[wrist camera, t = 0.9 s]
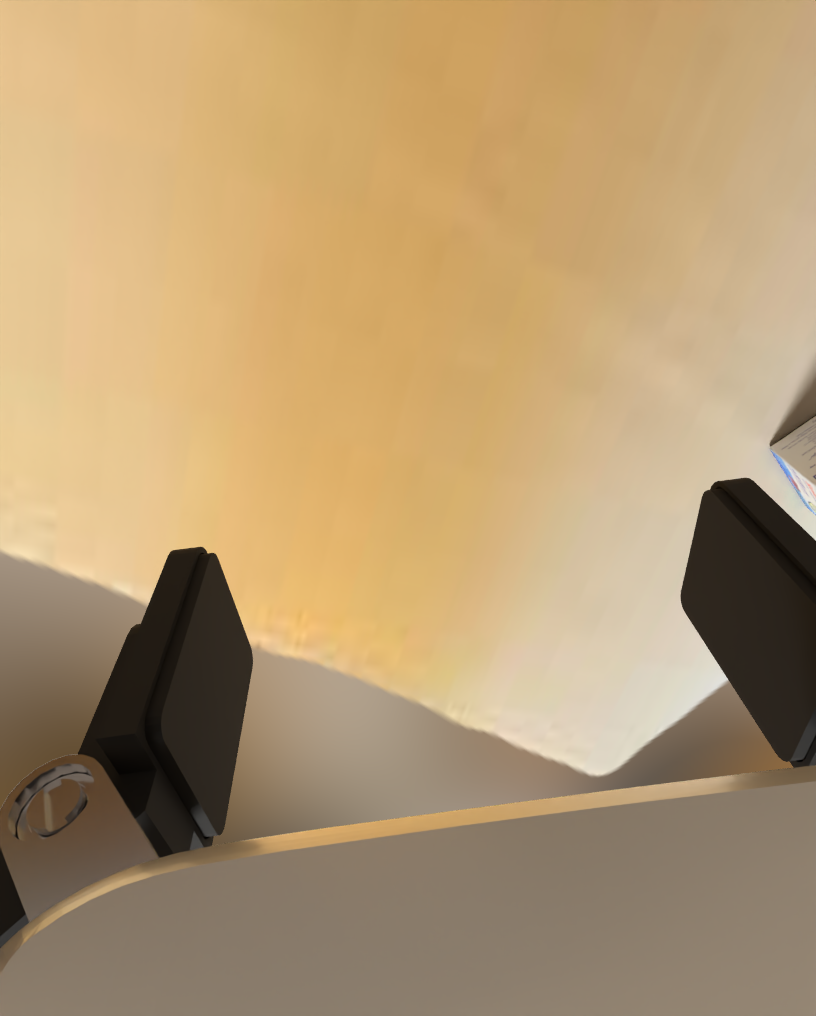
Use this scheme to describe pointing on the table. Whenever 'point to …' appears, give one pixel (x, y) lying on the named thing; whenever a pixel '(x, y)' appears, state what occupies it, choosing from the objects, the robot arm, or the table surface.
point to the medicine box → (800, 461)
